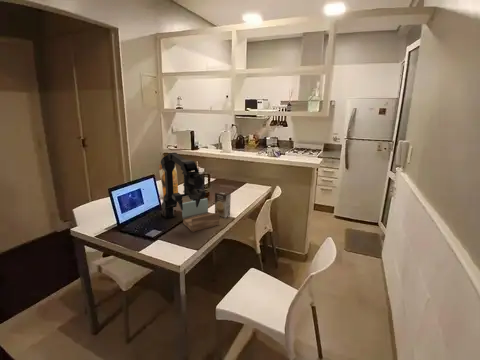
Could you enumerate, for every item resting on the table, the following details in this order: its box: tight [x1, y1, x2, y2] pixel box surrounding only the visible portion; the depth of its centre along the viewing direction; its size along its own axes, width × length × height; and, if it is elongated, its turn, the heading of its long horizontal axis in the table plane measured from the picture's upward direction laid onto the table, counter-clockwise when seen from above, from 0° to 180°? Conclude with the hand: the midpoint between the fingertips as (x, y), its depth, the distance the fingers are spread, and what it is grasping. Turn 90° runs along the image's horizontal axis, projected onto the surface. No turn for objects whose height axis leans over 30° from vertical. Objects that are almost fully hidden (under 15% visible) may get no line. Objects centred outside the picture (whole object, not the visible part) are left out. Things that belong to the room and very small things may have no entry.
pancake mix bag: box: [158, 163, 179, 200], centre depth 213 cm, size 7×19×28 cm, turn 147°
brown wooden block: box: [182, 212, 220, 232], centre depth 168 cm, size 14×18×8 cm
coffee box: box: [214, 190, 232, 219], centre depth 182 cm, size 9×6×16 cm
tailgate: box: [181, 198, 209, 220], centre depth 174 cm, size 2×18×10 cm, turn 125°
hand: (189, 208), depth 157 cm, fingers open, 9 cm apart
